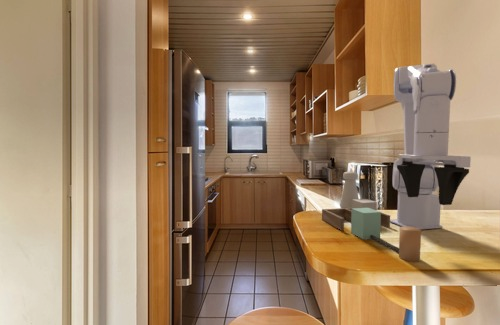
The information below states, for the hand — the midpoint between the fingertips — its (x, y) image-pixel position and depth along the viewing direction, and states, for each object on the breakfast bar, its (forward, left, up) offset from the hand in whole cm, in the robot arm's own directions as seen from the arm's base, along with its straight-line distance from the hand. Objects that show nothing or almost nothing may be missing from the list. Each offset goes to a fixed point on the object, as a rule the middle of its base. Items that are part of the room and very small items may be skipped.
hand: (428, 200), depth 54 cm
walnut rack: (+4, -19, -10) cm, 21 cm away
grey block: (+1, -20, -10) cm, 22 cm away
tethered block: (+7, -3, -10) cm, 13 cm away
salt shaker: (-1, -29, -10) cm, 31 cm away
